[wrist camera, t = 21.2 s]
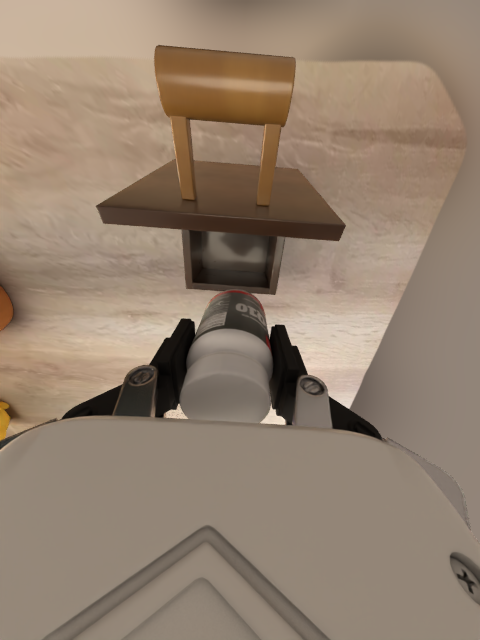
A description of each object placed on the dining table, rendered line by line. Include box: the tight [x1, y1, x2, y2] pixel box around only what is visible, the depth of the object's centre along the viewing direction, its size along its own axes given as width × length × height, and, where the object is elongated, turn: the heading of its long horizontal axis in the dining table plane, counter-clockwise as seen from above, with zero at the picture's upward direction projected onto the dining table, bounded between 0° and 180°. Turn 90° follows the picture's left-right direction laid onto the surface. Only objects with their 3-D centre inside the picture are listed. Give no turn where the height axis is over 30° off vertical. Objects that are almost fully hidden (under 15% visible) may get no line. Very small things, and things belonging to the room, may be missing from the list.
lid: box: [96, 45, 346, 241], centre depth 12 cm, size 14×12×6 cm
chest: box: [182, 229, 285, 295], centre depth 26 cm, size 13×12×8 cm
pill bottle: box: [179, 289, 273, 423], centre depth 12 cm, size 5×5×8 cm
